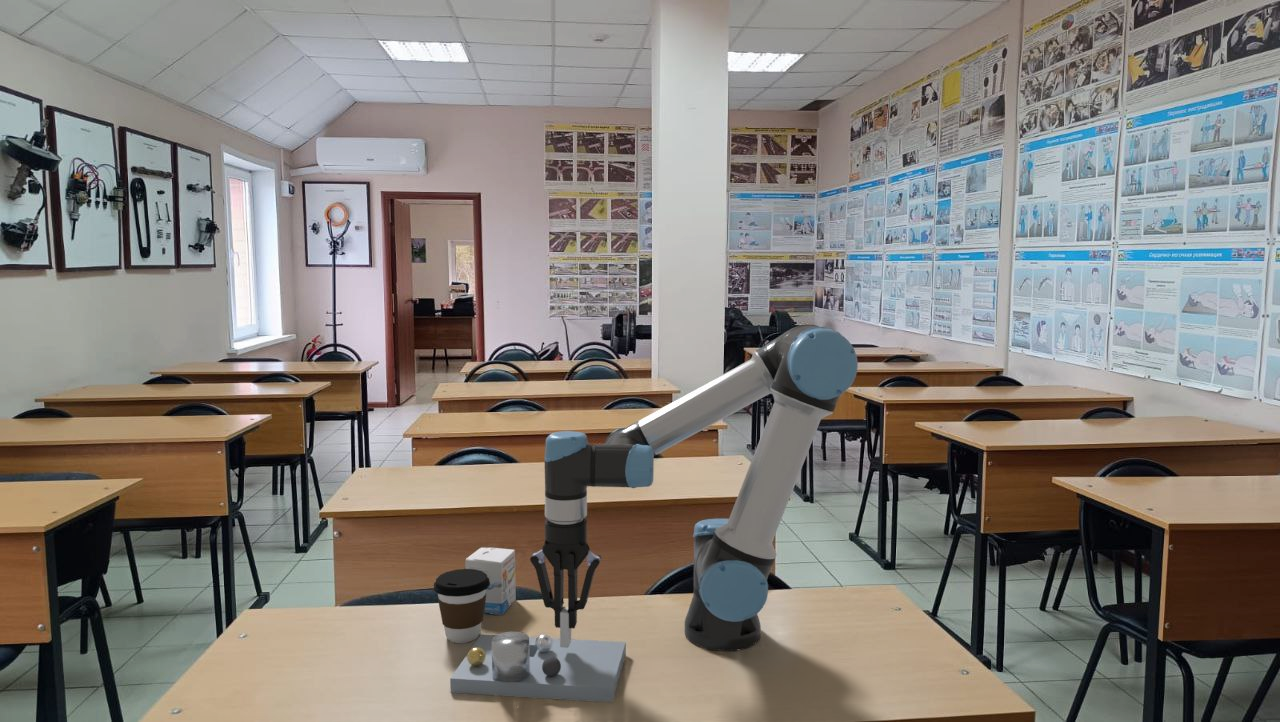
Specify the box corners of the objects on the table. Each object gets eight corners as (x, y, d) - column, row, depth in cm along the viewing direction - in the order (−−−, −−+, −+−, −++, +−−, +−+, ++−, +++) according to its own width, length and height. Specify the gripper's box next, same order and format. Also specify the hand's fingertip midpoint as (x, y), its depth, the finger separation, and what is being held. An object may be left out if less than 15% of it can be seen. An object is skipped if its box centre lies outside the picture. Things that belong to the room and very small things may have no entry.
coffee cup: (472, 652, 149) (471, 591, 148) (423, 644, 152) (421, 584, 151) (501, 628, 159) (500, 571, 158) (454, 621, 163) (452, 565, 161)
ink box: (502, 615, 165) (501, 562, 164) (464, 612, 167) (463, 559, 166) (517, 599, 174) (516, 548, 172) (481, 596, 175) (480, 545, 174)
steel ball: (542, 650, 145) (557, 643, 145) (538, 658, 142) (553, 651, 142) (534, 635, 145) (549, 628, 145) (530, 642, 142) (545, 635, 142)
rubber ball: (562, 671, 136) (562, 653, 136) (558, 680, 133) (558, 662, 133) (544, 670, 137) (544, 652, 136) (540, 679, 134) (540, 661, 133)
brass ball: (488, 661, 140) (487, 644, 140) (482, 670, 137) (482, 652, 137) (470, 660, 140) (470, 643, 140) (464, 669, 137) (464, 651, 137)
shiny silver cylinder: (533, 665, 138) (533, 632, 137) (524, 683, 132) (523, 649, 131) (498, 663, 139) (497, 630, 138) (487, 681, 132) (486, 647, 132)
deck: (625, 654, 148) (625, 642, 148) (612, 702, 131) (612, 688, 131) (481, 646, 151) (481, 634, 151) (450, 692, 134) (450, 678, 134)
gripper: (605, 513, 144) (604, 637, 146) (535, 510, 145) (535, 632, 148) (598, 526, 136) (597, 656, 139) (525, 522, 138) (525, 651, 140)
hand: (565, 643), depth 143 cm, fingers closed
